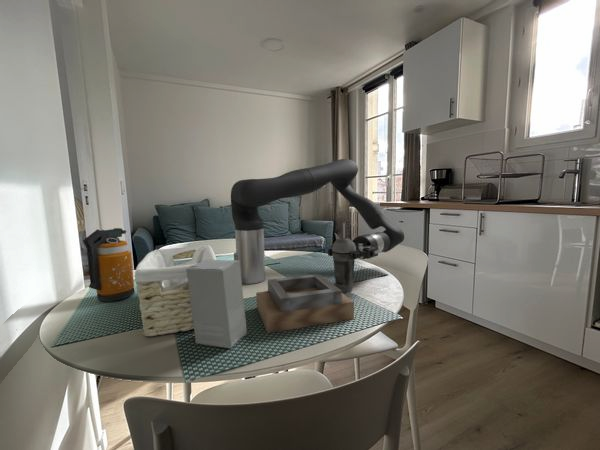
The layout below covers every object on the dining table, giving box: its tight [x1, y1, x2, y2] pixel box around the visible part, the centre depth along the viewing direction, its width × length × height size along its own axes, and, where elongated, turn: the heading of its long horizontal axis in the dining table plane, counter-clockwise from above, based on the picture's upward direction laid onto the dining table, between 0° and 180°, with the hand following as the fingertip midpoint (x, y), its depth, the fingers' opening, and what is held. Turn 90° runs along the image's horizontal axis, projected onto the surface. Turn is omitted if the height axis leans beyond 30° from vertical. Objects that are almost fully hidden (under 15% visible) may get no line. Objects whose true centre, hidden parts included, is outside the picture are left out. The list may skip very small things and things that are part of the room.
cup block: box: [255, 273, 355, 334], centre depth 69 cm, size 20×14×7 cm
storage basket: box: [134, 244, 218, 337], centre depth 69 cm, size 24×16×15 cm
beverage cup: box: [331, 222, 356, 293], centre depth 83 cm, size 7×7×20 cm
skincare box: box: [186, 259, 248, 349], centre depth 56 cm, size 8×7×16 cm
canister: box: [82, 227, 135, 303], centre depth 80 cm, size 9×11×20 cm
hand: (340, 254), depth 82 cm, fingers closed on beverage cup, 7 cm apart
